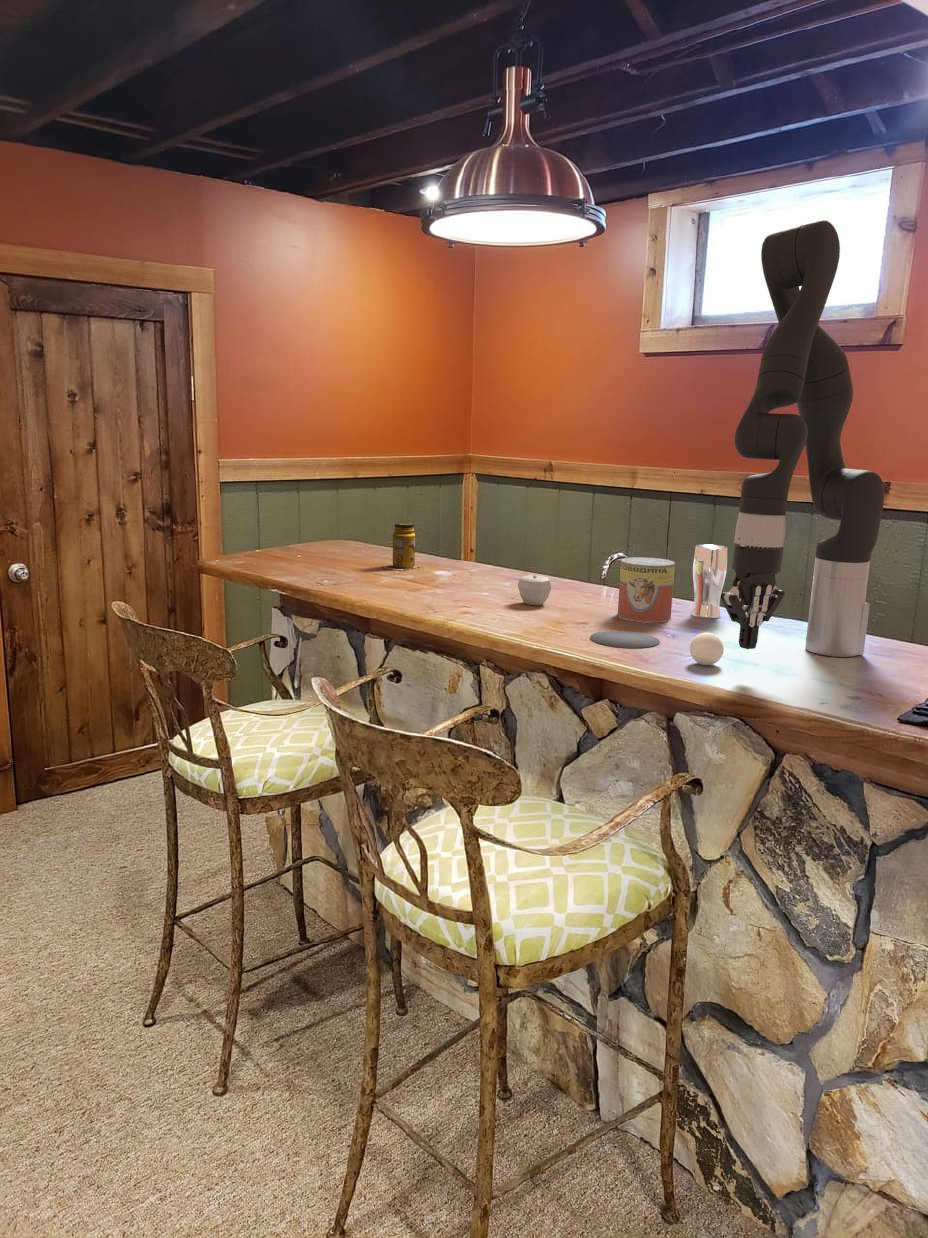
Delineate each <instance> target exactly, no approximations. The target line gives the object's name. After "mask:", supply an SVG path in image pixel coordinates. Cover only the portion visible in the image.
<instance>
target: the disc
mask: <svg viewBox="0 0 928 1238" xmlns="http://www.w3.org/2000/svg"><path fill="white" fill-rule="evenodd" d="M589 637H590V640H591V641H592V642H594V643H596V644H598V645H602V646H606V647H607V646H608V647H610V648H611V647H612V648H620V649H647V648H653V647H657V646H658V645H660V643H661V642H660V639H659V638H658V637H656V636H654V635H651V634H647V633H643V632H635V631H629V630H627V631H626V630H604V631H598V632H595V633H592V634H591V635H590V636H589Z"/></svg>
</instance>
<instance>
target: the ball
mask: <svg viewBox="0 0 928 1238" xmlns="http://www.w3.org/2000/svg"><path fill="white" fill-rule="evenodd" d="M724 649H725V648H724V644H723V642H722V640H721V638H720V637H719V636H717V635H716V634H714V633H712V632H701V633H699V634H697V635H696V636H694V638H692V641H690V644H689V653H690V656H691V658H692V659H693V661H694V662H696V663H697V664H699V665H703V666H711V665H714V664H716V663H718V662H719V661H720V659H722V656H723V654H724V651H725V650H724Z"/></svg>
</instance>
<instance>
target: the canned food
mask: <svg viewBox="0 0 928 1238" xmlns="http://www.w3.org/2000/svg"><path fill="white" fill-rule="evenodd" d="M675 565H676V562H675V561H674V560H670V559H666V558H657V557H649V556H648V557H646V556H633V557H629V556H628V557H623V558H621V559H620V571H619V574H620V575H619V587H618V589H619V591H618V604H617V614H616V616H617V617H618V618H619V619H622V620H624V619H626V620H625V621H628V620H631V621H630V622H634V621H636V622H635V623H642V622H661V623H666V621H667V622H669V620H670V621H671V620H672V617H671V616H672V608H673V607H672V606H673V605H672V604H673V592H674V579H675V570H676V569H675V567H676V566H675Z"/></svg>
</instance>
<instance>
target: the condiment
mask: <svg viewBox="0 0 928 1238" xmlns="http://www.w3.org/2000/svg"><path fill="white" fill-rule="evenodd" d="M393 530H394V532H393V533H392V564H390V565H389V564H388V565H381V566H380V567H382V568H385V569H387V570H393V571H403V570H412V569H411V568H414V567H415V564H416V563H415V562H416V534H415V525H414V523H412V522H395V523H394V529H393Z"/></svg>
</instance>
